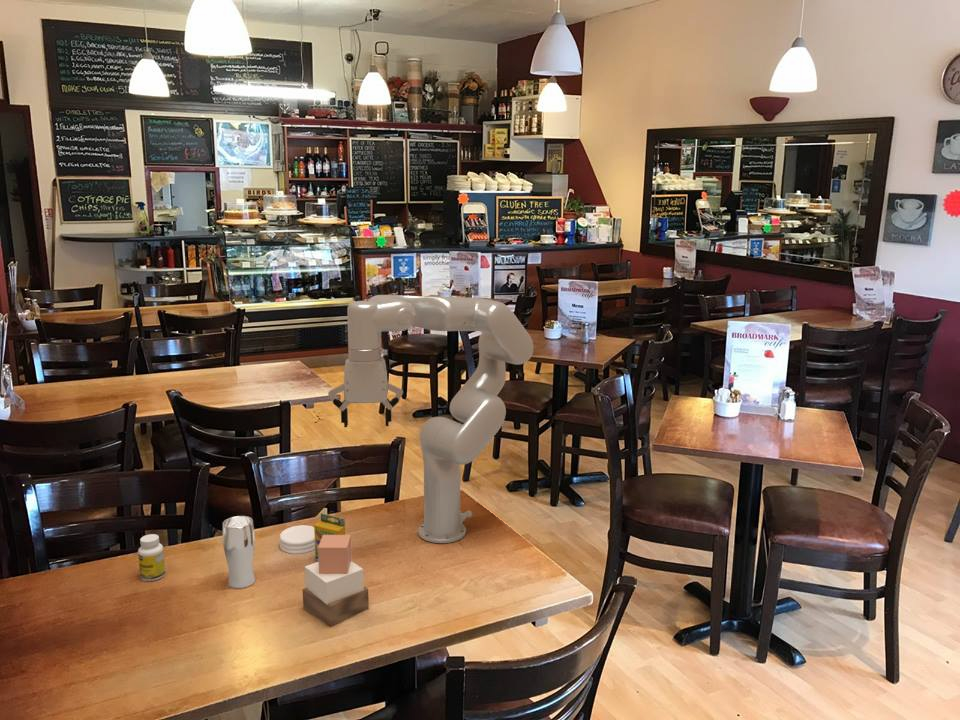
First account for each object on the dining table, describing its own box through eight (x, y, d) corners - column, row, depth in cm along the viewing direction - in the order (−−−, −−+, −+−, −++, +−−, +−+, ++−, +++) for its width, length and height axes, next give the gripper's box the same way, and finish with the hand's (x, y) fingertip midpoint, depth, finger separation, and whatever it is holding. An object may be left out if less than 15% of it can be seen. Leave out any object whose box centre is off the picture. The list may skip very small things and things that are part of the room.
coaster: (271, 547, 195) (271, 534, 194) (301, 533, 202) (301, 521, 202) (298, 558, 189) (297, 545, 188) (328, 543, 197) (327, 531, 196)
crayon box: (314, 561, 187) (313, 517, 185) (322, 556, 190) (320, 512, 187) (339, 568, 184) (338, 523, 182) (346, 562, 187) (345, 518, 184)
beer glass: (228, 592, 173) (224, 530, 169) (223, 578, 179) (219, 518, 175) (260, 585, 176) (256, 524, 173) (253, 571, 182) (250, 513, 179)
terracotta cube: (351, 560, 168) (350, 534, 167) (347, 573, 162) (346, 547, 161) (323, 560, 168) (323, 534, 166) (318, 573, 162) (318, 547, 161)
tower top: (341, 574, 172) (340, 553, 171) (363, 590, 165) (363, 569, 164) (305, 587, 166) (304, 566, 165) (326, 604, 160) (326, 582, 158)
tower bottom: (341, 592, 174) (340, 572, 173) (368, 609, 167) (368, 588, 166) (303, 609, 167) (302, 588, 166) (330, 628, 160) (329, 606, 159)
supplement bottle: (135, 579, 178) (131, 540, 176) (153, 568, 183) (149, 530, 181) (153, 584, 176) (149, 544, 174) (170, 573, 181) (167, 534, 179)
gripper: (402, 350, 182) (402, 419, 186) (328, 351, 180) (330, 421, 184) (402, 357, 175) (403, 429, 179) (325, 358, 173) (328, 431, 177)
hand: (366, 425), depth 182 cm, fingers open, 9 cm apart
